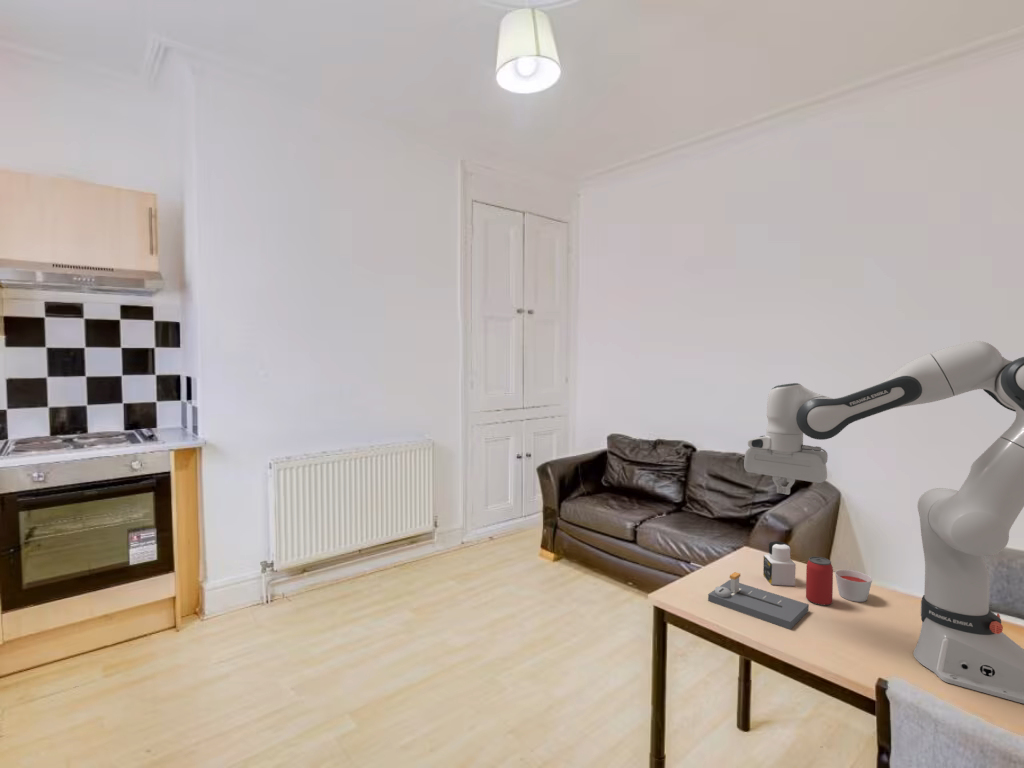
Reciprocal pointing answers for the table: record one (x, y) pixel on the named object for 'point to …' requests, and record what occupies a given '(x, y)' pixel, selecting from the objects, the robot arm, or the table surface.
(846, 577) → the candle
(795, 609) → the console
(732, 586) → the fader
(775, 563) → the medicine bottle
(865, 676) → the table surface
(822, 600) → the beer can
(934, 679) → the table surface
